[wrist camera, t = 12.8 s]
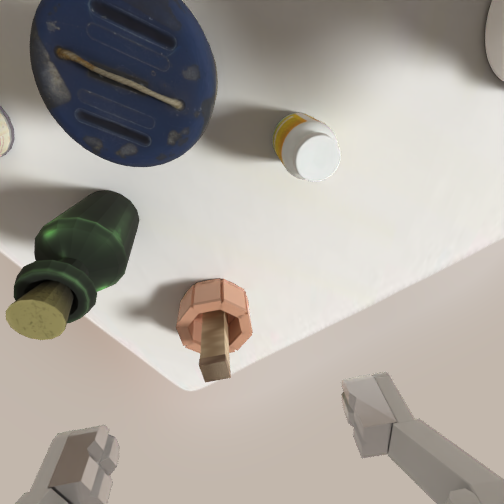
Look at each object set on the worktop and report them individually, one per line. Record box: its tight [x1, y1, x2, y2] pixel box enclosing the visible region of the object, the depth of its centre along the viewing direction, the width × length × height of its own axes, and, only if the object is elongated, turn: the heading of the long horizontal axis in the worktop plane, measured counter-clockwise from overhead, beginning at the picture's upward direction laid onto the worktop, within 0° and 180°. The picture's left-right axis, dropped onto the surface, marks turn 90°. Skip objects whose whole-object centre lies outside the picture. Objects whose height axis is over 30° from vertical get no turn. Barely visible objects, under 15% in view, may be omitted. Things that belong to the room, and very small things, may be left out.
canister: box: [30, 0, 217, 167], centre depth 22 cm, size 10×10×18 cm
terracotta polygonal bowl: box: [176, 278, 253, 353], centre depth 43 cm, size 10×10×5 cm
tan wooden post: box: [199, 310, 231, 382], centre depth 40 cm, size 3×3×11 cm
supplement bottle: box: [272, 113, 341, 182], centre depth 30 cm, size 5×5×10 cm
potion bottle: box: [6, 191, 139, 340], centre depth 29 cm, size 8×8×18 cm
